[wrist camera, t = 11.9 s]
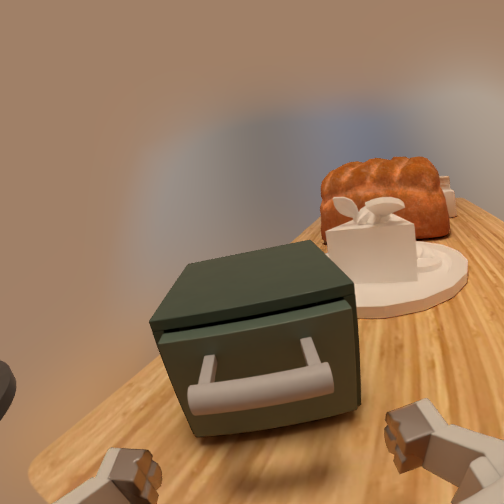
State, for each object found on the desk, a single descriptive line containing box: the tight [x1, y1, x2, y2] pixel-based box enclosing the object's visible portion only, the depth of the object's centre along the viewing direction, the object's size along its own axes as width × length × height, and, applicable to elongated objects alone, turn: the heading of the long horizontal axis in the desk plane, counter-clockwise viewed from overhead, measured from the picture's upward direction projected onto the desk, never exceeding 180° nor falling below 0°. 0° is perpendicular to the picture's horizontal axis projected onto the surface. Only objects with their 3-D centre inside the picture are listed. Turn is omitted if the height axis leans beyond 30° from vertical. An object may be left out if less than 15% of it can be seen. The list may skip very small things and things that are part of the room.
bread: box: [320, 157, 450, 241], centre depth 58 cm, size 14×26×16 cm, turn 57°
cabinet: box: [149, 240, 361, 434], centre depth 23 cm, size 12×11×9 cm
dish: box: [325, 197, 468, 318], centre depth 39 cm, size 25×25×11 cm
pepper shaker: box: [439, 176, 456, 218], centre depth 63 cm, size 4×4×10 cm
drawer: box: [158, 300, 357, 437], centre depth 20 cm, size 16×10×7 cm, turn 1°
